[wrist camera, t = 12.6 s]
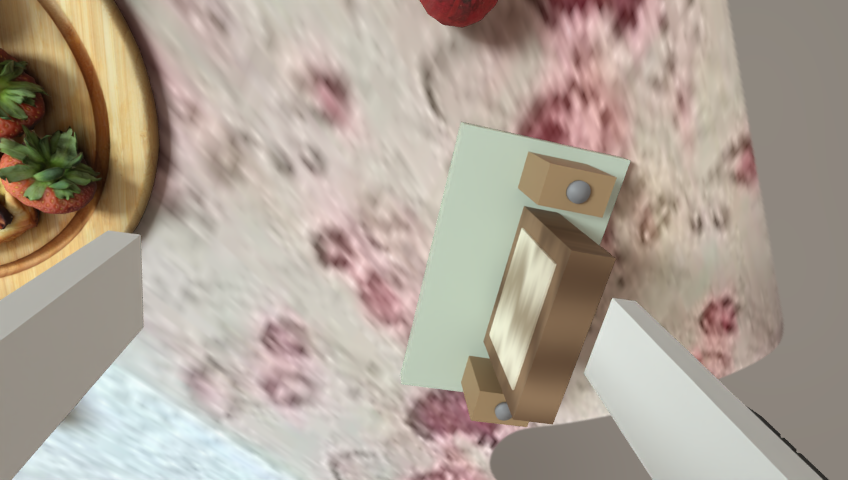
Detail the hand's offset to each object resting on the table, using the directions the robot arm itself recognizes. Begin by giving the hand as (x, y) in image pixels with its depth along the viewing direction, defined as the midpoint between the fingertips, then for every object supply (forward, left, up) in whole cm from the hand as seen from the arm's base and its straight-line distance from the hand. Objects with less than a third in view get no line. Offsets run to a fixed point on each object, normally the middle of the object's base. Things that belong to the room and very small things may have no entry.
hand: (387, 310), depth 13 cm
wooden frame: (+8, +13, -24) cm, 28 cm away
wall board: (+8, +13, -25) cm, 29 cm away
